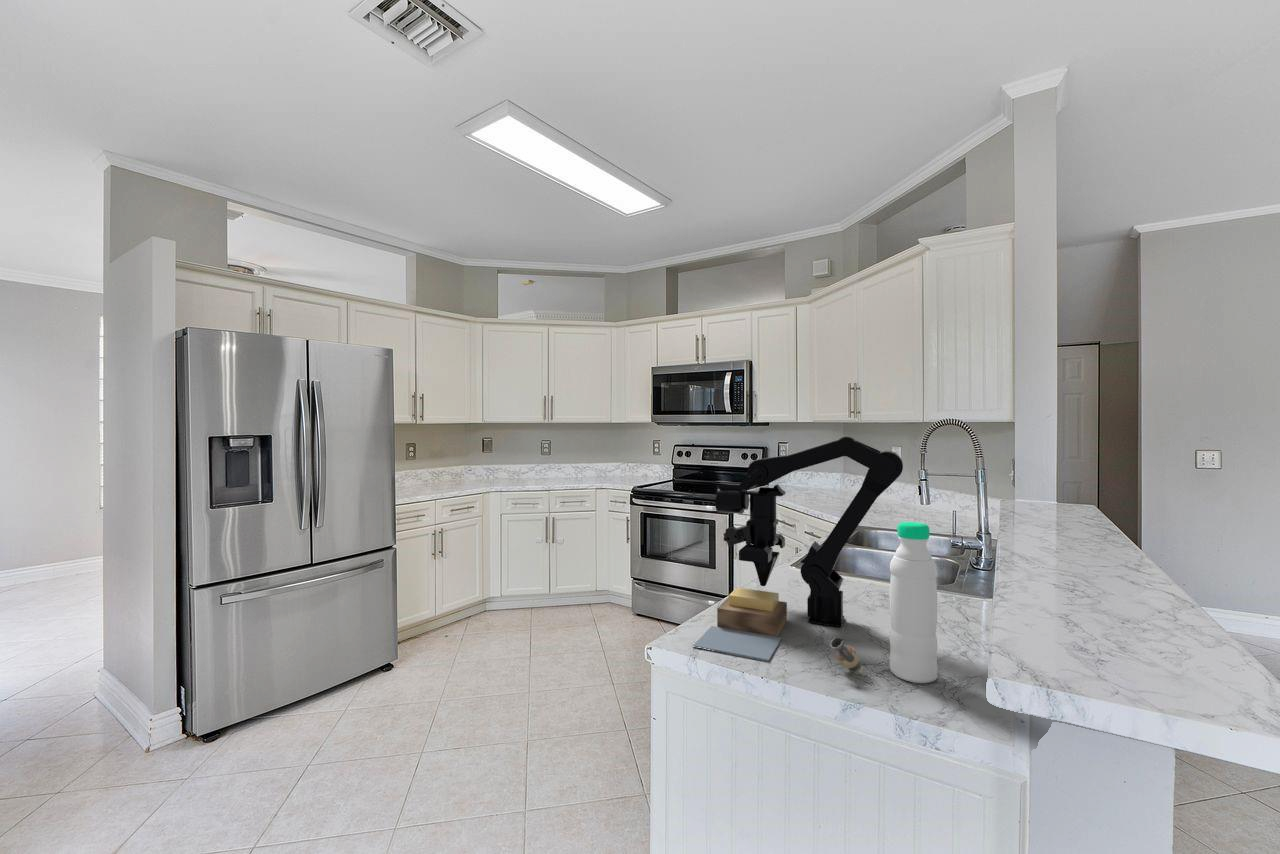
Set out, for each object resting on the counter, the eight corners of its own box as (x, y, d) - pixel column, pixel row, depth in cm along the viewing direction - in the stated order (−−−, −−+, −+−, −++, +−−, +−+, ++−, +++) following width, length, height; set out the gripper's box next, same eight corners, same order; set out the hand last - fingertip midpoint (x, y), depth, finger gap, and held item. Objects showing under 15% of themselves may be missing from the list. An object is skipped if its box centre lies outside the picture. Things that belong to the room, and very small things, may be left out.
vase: (841, 682, 87) (838, 644, 87) (823, 670, 92) (821, 634, 93) (871, 679, 88) (869, 641, 88) (852, 667, 93) (849, 631, 94)
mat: (781, 639, 104) (781, 637, 104) (768, 661, 94) (768, 659, 94) (711, 627, 110) (711, 625, 110) (692, 647, 100) (692, 645, 100)
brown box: (786, 621, 114) (786, 602, 114) (776, 637, 105) (776, 617, 105) (731, 612, 119) (731, 594, 119) (717, 627, 110) (717, 608, 110)
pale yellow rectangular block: (778, 602, 114) (778, 593, 114) (772, 611, 108) (772, 601, 108) (736, 596, 118) (736, 587, 118) (728, 604, 112) (728, 595, 112)
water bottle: (881, 666, 93) (881, 520, 93) (920, 664, 93) (920, 519, 93) (904, 686, 86) (905, 527, 86) (947, 684, 86) (947, 527, 86)
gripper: (738, 507, 132) (739, 571, 132) (715, 519, 115) (715, 592, 115) (785, 510, 127) (785, 576, 127) (767, 523, 110) (767, 599, 110)
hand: (763, 585), depth 120 cm, fingers closed
